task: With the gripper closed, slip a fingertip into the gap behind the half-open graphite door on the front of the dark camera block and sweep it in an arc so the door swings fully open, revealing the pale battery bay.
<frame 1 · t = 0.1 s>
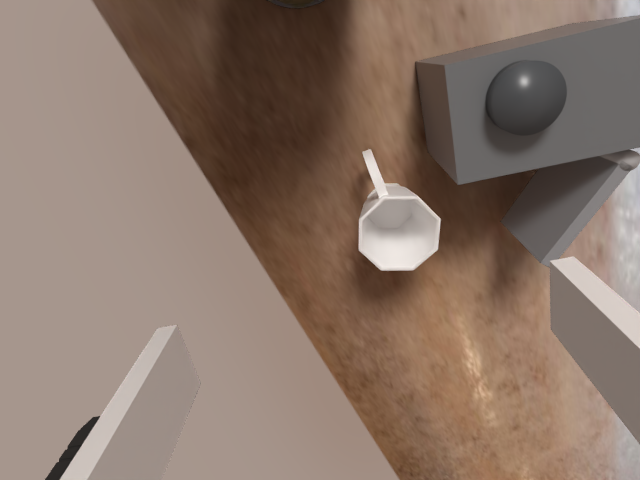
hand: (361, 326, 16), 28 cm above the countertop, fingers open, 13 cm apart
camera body: (495, 91, 39), on the countertop
cup: (382, 189, 43), on the countertop
door: (560, 194, 36), point 5 cm above the countertop, hinge at 50.0°
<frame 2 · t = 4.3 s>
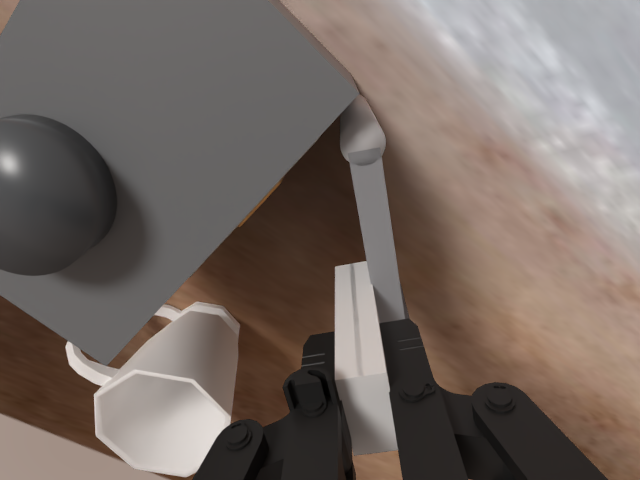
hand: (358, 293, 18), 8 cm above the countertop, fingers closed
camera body: (209, 114, 23), on the countertop
cup: (188, 317, 28), on the countertop
door: (374, 219, 19), point 5 cm above the countertop, hinge at 54.4°, touching gripper
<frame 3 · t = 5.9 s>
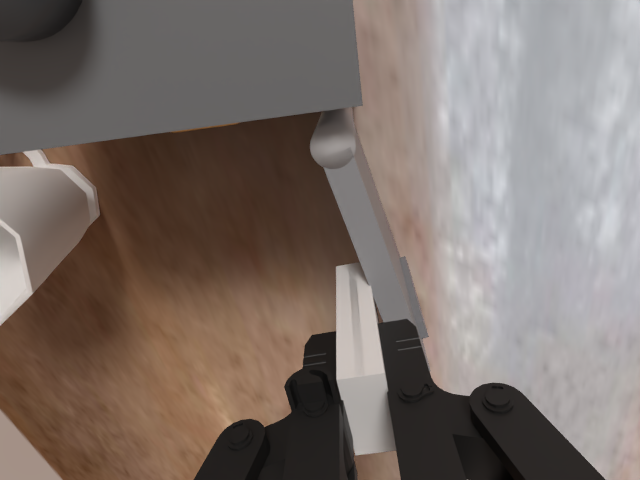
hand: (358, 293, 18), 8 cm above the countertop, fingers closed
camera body: (212, 11, 21), on the countertop
cup: (52, 173, 25), on the countertop
door: (371, 217, 19), point 6 cm above the countertop, hinge at 103.3°, touching gripper
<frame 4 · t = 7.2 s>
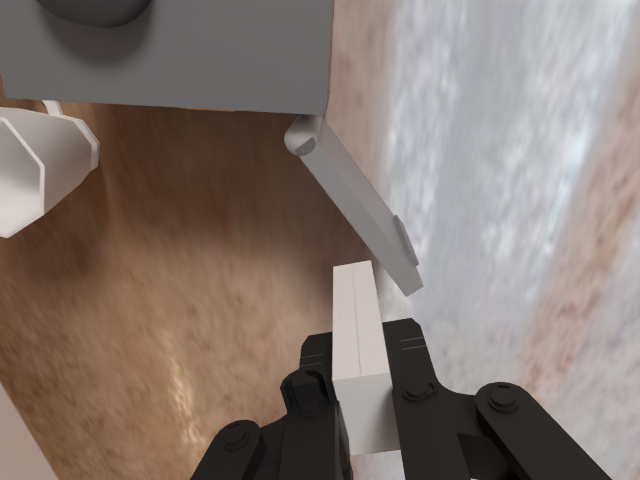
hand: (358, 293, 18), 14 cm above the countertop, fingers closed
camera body: (225, 19, 26), on the countertop
cup: (62, 123, 29), on the countertop
door: (354, 188, 24), point 5 cm above the countertop, hinge at 129.6°
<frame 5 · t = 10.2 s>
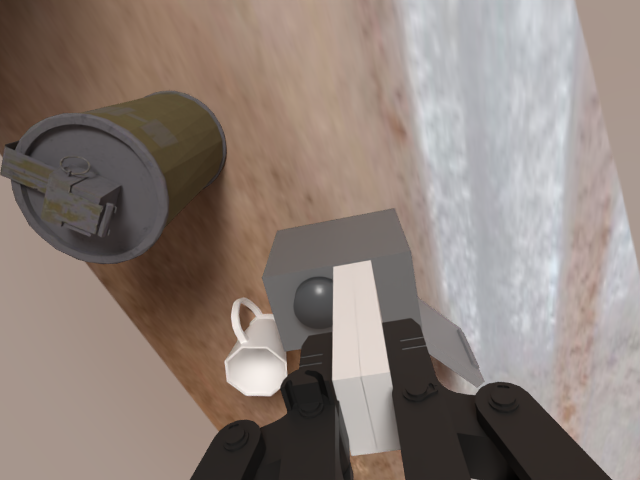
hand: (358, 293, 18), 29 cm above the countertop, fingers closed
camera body: (342, 252, 49), on the countertop
cup: (262, 317, 53), on the countertop
door: (435, 331, 47), point 6 cm above the countertop, hinge at 130.0°
canister: (174, 142, 45), on the countertop
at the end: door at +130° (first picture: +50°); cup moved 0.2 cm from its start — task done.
